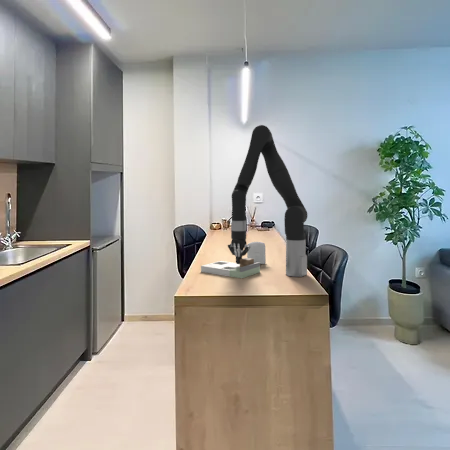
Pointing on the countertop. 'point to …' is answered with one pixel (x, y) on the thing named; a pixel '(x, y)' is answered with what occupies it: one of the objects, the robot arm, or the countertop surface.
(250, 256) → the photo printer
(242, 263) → the walnut block
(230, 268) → the box
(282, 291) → the countertop surface
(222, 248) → the countertop surface
